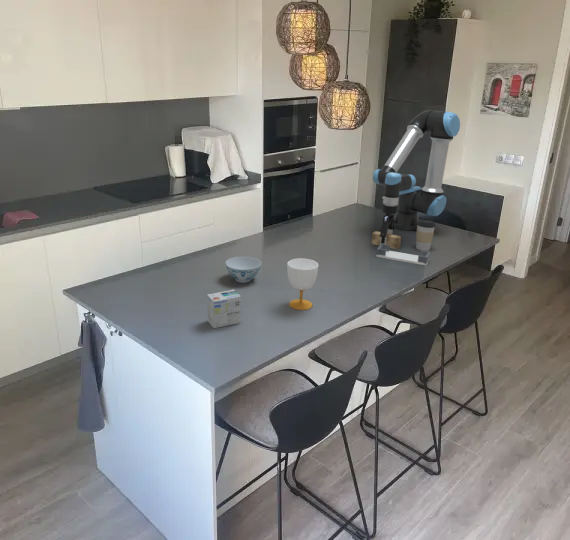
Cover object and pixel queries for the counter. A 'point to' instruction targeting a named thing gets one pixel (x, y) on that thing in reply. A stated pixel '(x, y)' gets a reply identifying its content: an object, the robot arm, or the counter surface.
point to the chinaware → (243, 268)
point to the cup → (301, 279)
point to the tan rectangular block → (387, 240)
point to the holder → (403, 255)
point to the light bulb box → (224, 308)
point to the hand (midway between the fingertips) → (385, 245)
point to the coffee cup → (424, 234)
